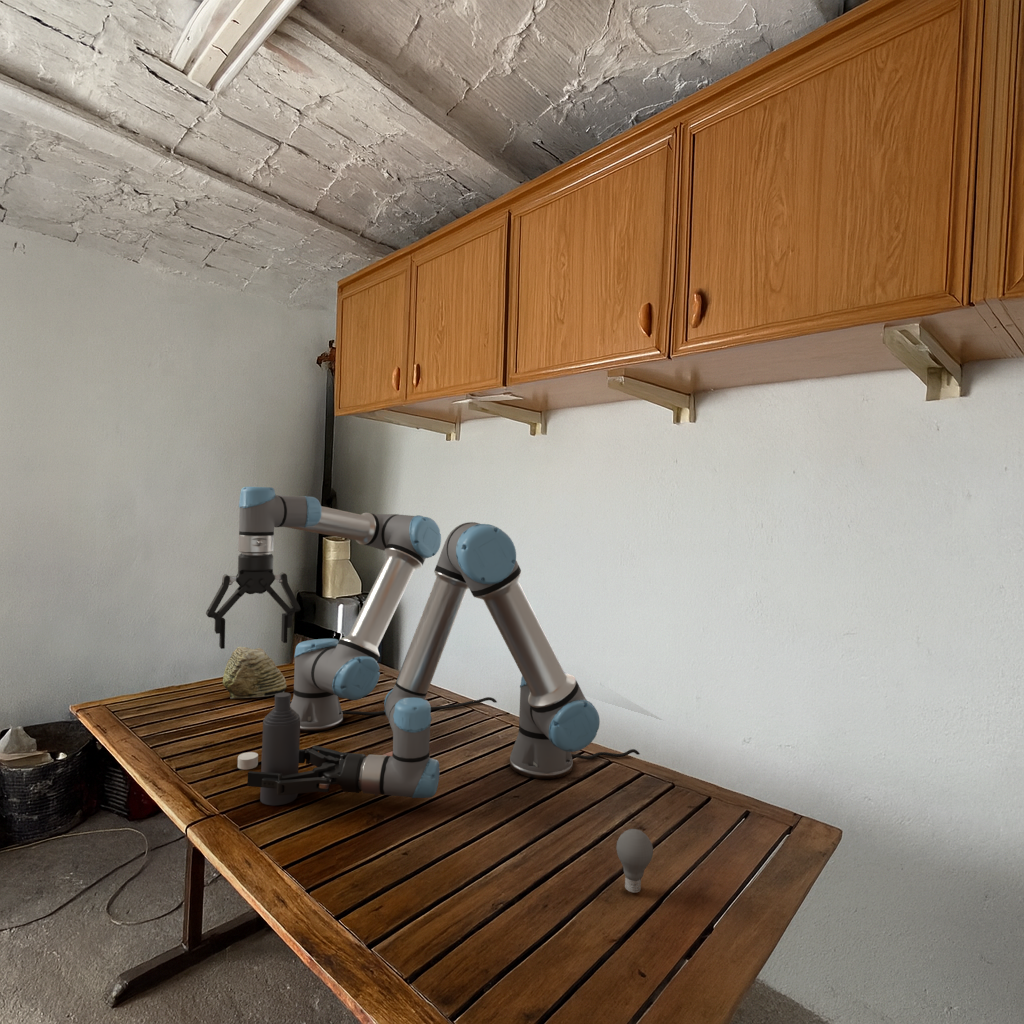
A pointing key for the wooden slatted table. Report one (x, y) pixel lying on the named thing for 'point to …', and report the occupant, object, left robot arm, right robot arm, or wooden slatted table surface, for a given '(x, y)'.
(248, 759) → the cap
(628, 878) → the light bulb
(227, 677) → the fossil
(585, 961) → the wooden slatted table surface
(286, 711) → the bottle
